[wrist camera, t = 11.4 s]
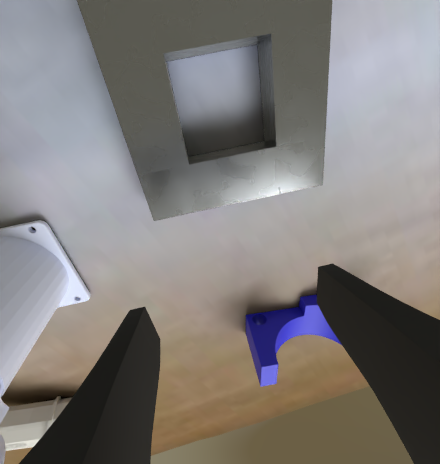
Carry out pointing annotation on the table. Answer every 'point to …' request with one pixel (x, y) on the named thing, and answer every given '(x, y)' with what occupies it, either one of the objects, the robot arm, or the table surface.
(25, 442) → the angle grinder
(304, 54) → the socket block
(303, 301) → the blue bearing cradle
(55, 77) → the table surface
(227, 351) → the table surface
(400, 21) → the table surface
